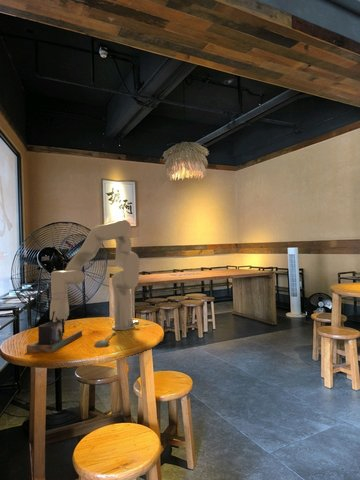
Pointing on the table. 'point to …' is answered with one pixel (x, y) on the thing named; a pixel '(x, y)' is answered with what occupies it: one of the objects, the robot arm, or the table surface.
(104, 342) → the soupspoon
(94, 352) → the table surface
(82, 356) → the table surface
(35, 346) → the chute
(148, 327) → the table surface
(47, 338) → the small box
